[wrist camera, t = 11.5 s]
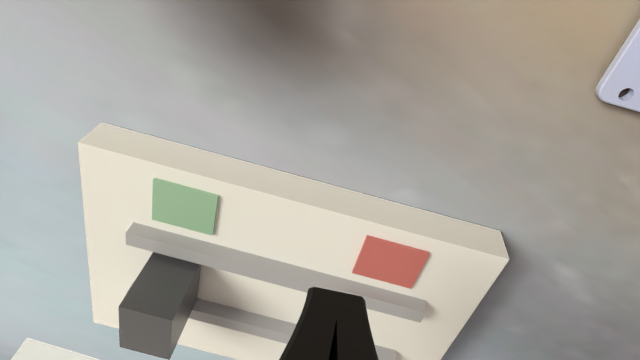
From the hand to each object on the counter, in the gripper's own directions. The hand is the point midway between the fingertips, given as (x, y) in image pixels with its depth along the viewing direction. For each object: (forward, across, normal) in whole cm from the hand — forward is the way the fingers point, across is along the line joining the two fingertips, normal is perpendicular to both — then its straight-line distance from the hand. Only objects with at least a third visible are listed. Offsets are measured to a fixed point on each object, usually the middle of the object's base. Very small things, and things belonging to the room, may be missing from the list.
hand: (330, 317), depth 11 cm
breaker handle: (+8, +7, +9) cm, 14 cm away
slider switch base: (+10, +2, +10) cm, 14 cm away
